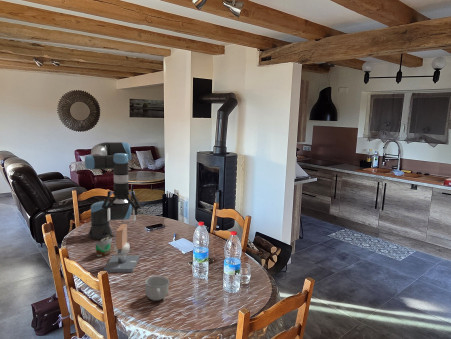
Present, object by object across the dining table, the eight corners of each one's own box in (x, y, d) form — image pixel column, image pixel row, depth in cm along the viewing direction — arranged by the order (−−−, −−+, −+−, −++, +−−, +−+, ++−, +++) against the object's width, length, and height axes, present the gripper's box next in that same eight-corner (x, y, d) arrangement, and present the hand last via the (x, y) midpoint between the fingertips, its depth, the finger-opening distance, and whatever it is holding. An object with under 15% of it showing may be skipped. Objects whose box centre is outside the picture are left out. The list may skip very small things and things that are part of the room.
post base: (112, 258, 185) (112, 244, 184) (138, 258, 186) (138, 245, 185) (103, 272, 168) (103, 257, 167) (132, 272, 169) (132, 257, 168)
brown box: (117, 246, 181) (117, 224, 179) (131, 246, 181) (131, 224, 180) (111, 254, 170) (111, 230, 168) (126, 254, 171) (126, 231, 169)
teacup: (147, 290, 152) (147, 275, 150) (170, 290, 153) (170, 275, 151) (142, 307, 138) (142, 290, 137) (167, 307, 139) (167, 290, 138)
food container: (104, 259, 183) (104, 243, 182) (95, 258, 185) (94, 241, 183) (116, 251, 195) (116, 235, 194) (107, 250, 196) (106, 234, 195)
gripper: (95, 183, 165) (95, 222, 168) (143, 184, 167) (143, 222, 170) (99, 180, 173) (100, 218, 176) (146, 181, 175) (146, 218, 178)
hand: (121, 220), depth 173 cm, fingers open, 13 cm apart
